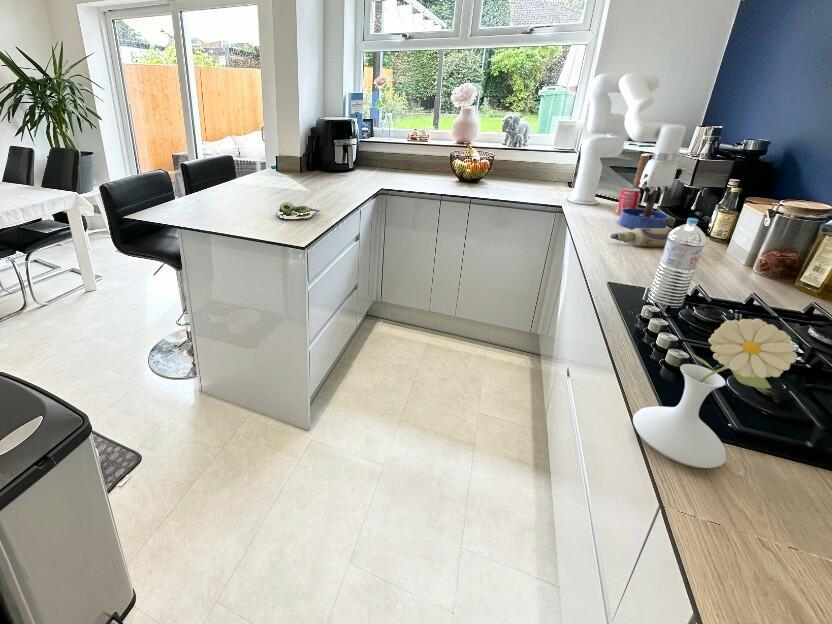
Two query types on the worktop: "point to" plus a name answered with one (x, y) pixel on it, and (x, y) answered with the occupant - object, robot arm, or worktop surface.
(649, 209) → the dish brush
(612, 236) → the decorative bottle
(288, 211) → the salad plate
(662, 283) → the water bottle
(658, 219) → the blue bowl
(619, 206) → the soda can
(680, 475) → the worktop surface
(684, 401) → the flower in vase
